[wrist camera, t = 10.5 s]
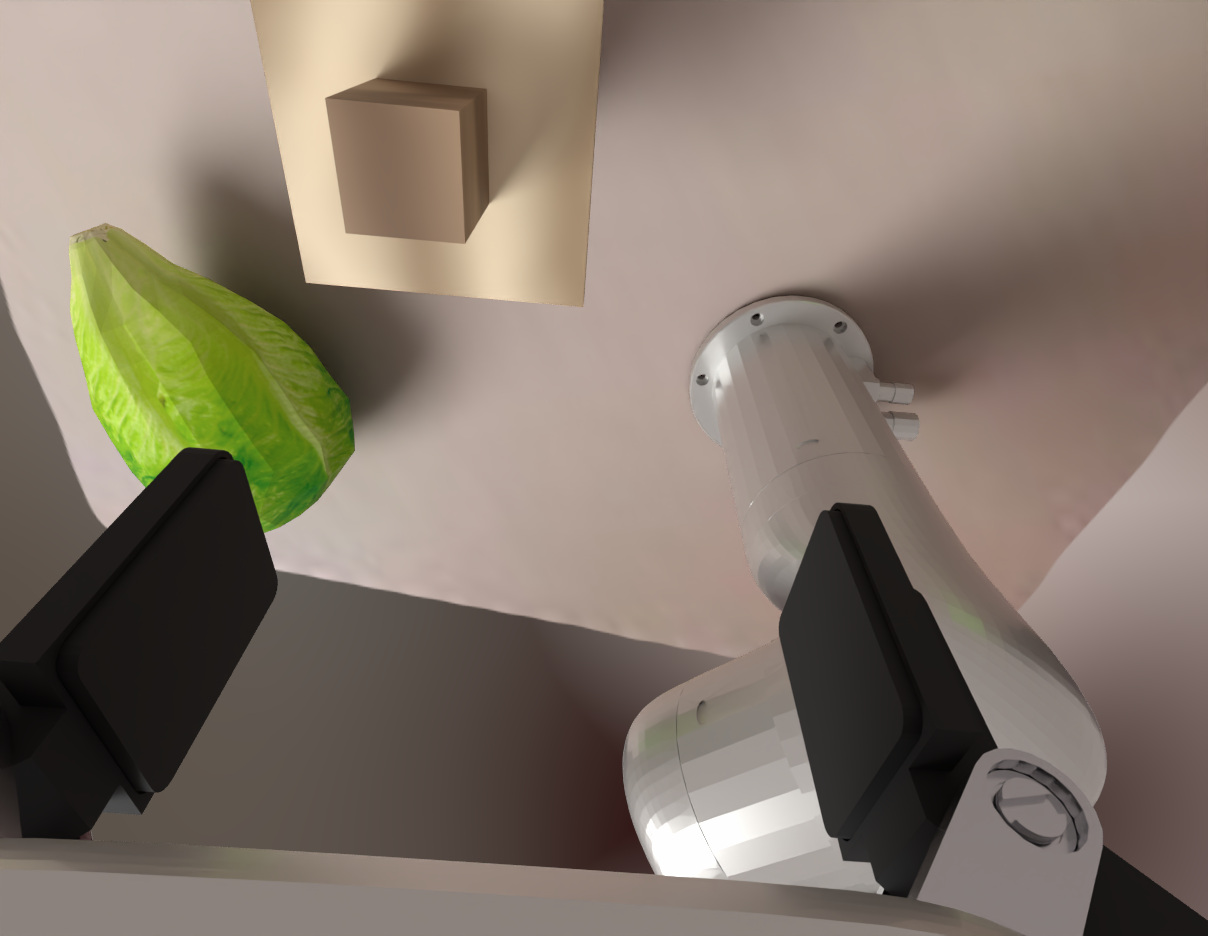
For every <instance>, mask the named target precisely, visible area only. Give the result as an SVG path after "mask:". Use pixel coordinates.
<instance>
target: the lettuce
mask: <svg viewBox="0 0 1208 936" xmlns="http://www.w3.org/2000/svg"><path fill="white" fill-rule="evenodd" d="M69 257H70V266H71V274H72V282H71V298H70V313H71V318H72V324H73V329H74V335H75V339H76V343H77V347H78V350H79V354H80V358H81V362H82V365H83V369H84V373H85V377H86V381H87V386H88V390H89V395H90V399H91V403H92V408H93V410H94V412H95V413H96V415H97V417H98V419H99V420H100V422H101V424H102V425H103V427H104V429H105V430H106V432H107V434H108V436H109V437H110V439H111V441H112V442H113V444H114V445H115V447H116V448H117V450H118V451H119V453H120V455H121V456H122V458H123V459H124V461H125V462H126V464H127V465H128V467H129V468H130V470H131V471H132V473H133V474H134V475H135V476H136V477H137V478H138V479H139V480H140V482H141V483H142V484H143V485H144V486H145V487H147V486H148V485H149V484H150V483H151V482H152V481H153V480H154V479H155V477H156V476H157V475H158V474H159V473H160V472H161V471H162V470H163V469H164V468H165V467H166V466H167V465H168V464H169V463H170V462H171V460H172V459H173V458H174V457H175V456H176V455H177V454H178V453H179V452H180V451H181V450H183V449H184V448H188V447H194V448H206V449H218V450H225V451H228V452H229V453H230V454H231V455H232V457H233V459H234V460H237V461H240V462H241V463H242V464H243V466H244V469H245V472H246V476H247V479H248V482H249V485H250V489H251V492H252V495H253V499H254V502H255V505H256V509H257V512H258V515H259V519H260V522H261V525H262V528H263V532H264V533H265V532H268V531H271V530H273V529H276V528H279V527H281V526H282V525H284V524H286V523H287V522H289V521H291V520H293V519H294V518H296V517H298V516H299V515H301V514H302V513H303V512H304V511H306V510H307V509H308V508H309V507H310V506H312V505H313V504H314V503H315V502H316V501H318V499H319V498H320V497H321V496H322V494H323V493H324V492H325V491H326V489H327V488H328V487H329V486H330V484H331V483H332V482H333V480H334V479H335V477H336V476H337V475H338V473H339V472H340V470H341V469H342V468H343V466H344V465H345V464H346V462H347V461H348V459H349V458H350V457H351V455H352V454H353V453H354V451H355V445H354V429H353V422H352V415H351V408H350V400H349V398H348V397H347V396H346V394H345V393H344V392H343V391H342V389H341V388H340V387H339V386H338V385H337V383H336V382H335V381H334V380H333V378H332V377H331V376H330V375H329V373H328V372H327V370H326V369H325V367H324V366H323V365H322V363H321V362H320V360H319V359H318V357H317V356H316V355H315V353H314V352H313V350H312V349H311V347H310V346H309V345H307V344H306V343H305V342H304V341H303V340H302V339H301V338H300V337H299V336H298V335H297V334H296V333H295V332H294V331H293V330H292V329H291V328H290V327H289V326H288V325H287V324H286V323H285V322H283V321H282V320H280V319H279V318H277V317H275V316H274V315H272V314H270V313H269V312H267V311H266V310H264V309H262V308H261V307H259V306H257V305H256V304H254V303H253V302H251V301H249V300H247V299H245V298H243V297H242V296H240V295H238V294H236V293H234V292H232V291H230V290H228V289H227V288H225V287H223V286H221V285H219V284H217V283H215V282H213V281H211V280H210V279H207V278H205V277H203V276H201V275H198V274H196V273H194V272H191V271H189V270H187V269H184V268H182V267H180V266H177V265H175V264H173V263H171V262H170V261H168V260H167V259H166V258H164V257H163V256H161V255H160V254H158V253H157V252H156V251H154V250H153V249H151V248H150V247H148V246H147V245H146V244H144V243H142V242H141V241H139V240H138V239H136V238H135V237H133V236H131V235H130V234H128V233H127V232H125V231H123V230H122V229H120V228H117V227H115V226H112V225H109V224H107V223H105V224H102V225H99V226H97V227H94V228H91V229H89V230H86V231H83V232H81V233H78V234H75V235H73V236H71V237H70V243H69Z"/></svg>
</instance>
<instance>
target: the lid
mask: <svg viewBox="0 0 1208 936" xmlns="http://www.w3.org/2000/svg"><path fill="white" fill-rule="evenodd" d="M250 2H251V7H252V12H253V17H254V22H255V27H256V32H257V37H258V42H259V47H260V52H261V57H262V63H263V68H264V73H265V78H266V83H267V88H268V93H269V98H270V103H271V108H272V113H273V118H274V123H275V128H276V133H277V138H278V144H279V149H280V154H281V159H282V164H283V169H284V174H285V179H286V184H287V189H288V194H289V199H290V204H291V209H292V214H293V219H294V225H295V230H296V235H297V240H298V245H299V250H300V255H301V260H302V265H303V270H304V275H305V280H306V283H315V284H326V285H337V286H349V287H360V288H372V289H383V290H394V291H406V292H417V293H429V294H440V295H452V296H463V297H474V298H486V299H497V300H509V301H520V302H532V303H543V304H554V305H566V306H577V307H583V303H584V293H585V278H586V263H587V248H588V234H589V219H590V204H591V189H592V174H593V159H594V144H595V129H596V114H597V100H598V85H599V70H600V55H601V40H602V25H603V10H604V0H250Z"/></svg>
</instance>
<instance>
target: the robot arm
mask: <svg viewBox="0 0 1208 936" xmlns="http://www.w3.org/2000/svg"><path fill="white" fill-rule="evenodd" d="M757 313H759V315H758V316H757V317H752V316H753V315H754V314H757ZM837 322H840V323H839V324H837V325H835V324H836V323H837ZM702 374H704V375H703V376H699V375H702ZM689 395H690V402H691V407H692V410H693V413H694V416H695V418H696V420H697V422H698V423H699V425H700V427H701V429H702V430H703V431H704V432H705V433H706V434H707V435H708V436H709V438H710V439H711V440H712V441H714V442H715V443H717V444H718V445H719V446H721V447H722V448H723V451H724V456H725V460H726V465H727V470H728V475H729V479H730V484H731V489H732V493H733V498H734V503H735V508H736V512H737V517H738V522H739V526H740V531H741V536H742V540H743V545H744V550H745V554H746V559H747V562H748V565H749V568H750V571H751V574H752V576H753V578H754V580H755V582H756V584H757V585H758V587H759V588H760V590H761V591H762V592H763V594H764V595H765V596H766V597H767V598H768V600H769V601H770V602H771V603H772V604H773V605H774V606H775V607H777V608H778V609H779V610H780V611H782V614H781V617H780V621H779V638H777V639H774V640H773V641H771V642H770V643H769V644H767V645H765V646H763V647H760V648H758V649H756V650H754V651H752V652H749V653H747V654H745V655H743V656H741V657H738V658H736V659H734V660H732V661H730V662H728V663H725V664H723V665H721V666H719V667H717V668H714V669H712V670H710V671H708V672H706V673H703V674H701V675H699V676H697V677H695V678H692V679H691V680H689V681H687V682H685V683H683V684H681V685H679V686H677V687H675V688H673V689H671V690H669V691H667V692H665V693H664V694H662V695H660V696H659V697H658V698H656V699H654V700H653V701H652V702H651V703H649V704H648V705H647V706H646V707H645V708H644V709H643V710H642V711H641V712H640V713H639V715H638V716H637V717H636V719H635V720H634V722H633V724H632V726H631V728H630V730H629V732H628V735H627V738H626V742H625V747H624V754H623V779H624V787H625V793H626V798H627V802H628V807H629V811H630V814H631V817H632V821H633V824H634V827H635V830H636V832H637V835H638V837H639V840H640V842H641V845H642V847H643V849H644V852H645V854H646V856H647V858H648V860H649V862H650V865H651V867H652V869H653V871H654V873H655V875H651V874H637V873H636V874H635V873H622V872H608V871H607V872H606V871H593V870H579V869H563V868H549V867H534V866H518V865H503V864H488V863H472V862H457V861H441V860H425V859H409V858H394V857H378V856H362V855H346V854H329V853H314V852H297V851H296V852H295V851H280V850H264V849H247V848H230V847H228V848H227V847H213V846H196V845H180V844H163V843H141V842H117V841H93V840H92V834H91V829H92V827H93V826H94V824H95V823H96V821H97V819H98V818H99V816H100V815H101V813H102V812H107V813H123V814H138V815H141V814H142V813H143V812H144V810H145V808H146V806H147V804H148V803H149V801H150V800H151V798H152V796H153V794H154V793H155V792H161V791H163V790H164V789H165V788H166V787H167V786H168V785H169V783H170V782H171V780H172V779H173V777H174V775H175V773H176V772H177V770H178V768H179V766H180V765H181V763H182V761H183V759H184V758H185V756H186V754H187V752H188V750H189V749H190V747H191V745H192V743H193V741H194V740H195V738H196V736H197V734H198V733H199V731H200V729H201V727H202V726H203V724H204V722H205V720H206V719H207V717H208V715H209V713H210V711H211V710H212V708H213V706H214V704H215V703H216V701H217V699H218V697H219V696H220V694H221V692H222V690H223V688H224V687H225V685H226V683H227V681H228V679H229V678H230V676H231V674H232V672H233V670H234V669H235V667H236V665H237V663H238V662H239V660H240V658H241V657H242V654H243V653H244V651H245V649H246V648H247V646H248V644H249V642H250V641H251V639H252V637H253V635H254V633H255V632H256V630H257V628H258V626H259V625H260V623H261V621H262V619H263V618H264V615H265V614H266V612H267V610H268V608H269V607H270V605H271V603H272V602H273V600H274V597H275V595H276V591H277V585H278V582H277V581H278V580H277V575H276V571H275V568H274V565H273V562H272V558H271V555H270V552H269V548H268V545H267V542H266V538H265V535H264V532H263V528H262V525H261V522H260V519H259V515H258V512H257V509H256V505H255V502H254V499H253V495H252V492H251V489H250V485H249V482H248V479H247V476H246V472H245V469H244V466H243V464H242V463H241V462H240V461H237V460H234V459H233V457H232V455H231V454H230V453H229V452H228V451H225V450H218V449H206V448H194V447H188V448H184V449H183V450H181V451H180V452H179V453H178V454H177V455H176V456H175V457H174V458H173V459H172V460H171V462H170V463H169V464H168V465H167V466H166V467H165V468H164V469H163V470H162V471H161V472H160V473H159V474H158V475H157V476H156V477H155V479H154V480H153V481H152V482H151V483H150V484H149V485H148V486H147V487H146V488H145V489H144V490H143V491H142V492H141V493H140V495H139V496H138V497H137V498H136V499H135V500H134V501H133V502H132V503H131V504H130V505H129V506H128V507H127V508H126V509H125V510H124V512H123V513H122V514H121V515H120V516H119V517H118V518H117V519H116V520H115V521H114V522H113V523H112V524H111V525H110V526H109V527H108V529H107V530H106V531H105V532H104V533H103V534H102V535H101V536H100V537H99V538H98V539H97V540H96V542H94V543H93V545H92V546H91V547H90V548H89V549H88V550H87V551H86V552H85V553H84V554H83V555H82V556H81V557H80V558H79V559H78V561H77V562H76V563H75V564H74V565H73V566H72V567H71V568H70V569H69V570H68V571H67V572H66V573H65V574H64V575H63V576H62V578H61V579H60V580H59V581H58V582H57V583H56V584H55V585H54V586H53V587H52V588H51V589H50V590H49V591H48V592H47V594H46V595H45V596H44V597H43V598H42V599H41V600H40V601H39V602H38V603H37V604H36V605H35V606H34V607H33V609H31V611H30V612H29V613H28V614H27V615H26V616H25V617H24V618H23V619H22V620H21V621H20V622H19V623H18V624H17V625H16V627H15V628H14V629H13V630H12V631H11V632H10V633H9V634H8V635H7V636H6V637H5V638H4V639H3V640H2V641H1V642H0V936H1208V920H1206V919H1205V918H1203V917H1202V916H1201V915H1199V914H1198V913H1197V912H1195V911H1194V910H1192V909H1191V908H1190V907H1188V906H1187V905H1186V904H1184V903H1183V902H1181V901H1180V900H1179V899H1177V898H1176V897H1174V896H1173V895H1172V894H1170V893H1169V892H1168V891H1166V890H1165V889H1163V888H1162V887H1161V886H1159V885H1158V884H1156V883H1155V882H1154V881H1152V880H1151V879H1149V878H1148V877H1147V876H1145V875H1144V874H1143V873H1141V872H1140V871H1139V870H1137V869H1136V868H1134V867H1133V866H1132V865H1130V864H1129V863H1127V862H1126V861H1125V860H1123V859H1122V858H1120V857H1119V856H1118V855H1116V854H1115V853H1113V852H1112V851H1111V850H1109V849H1108V848H1107V847H1105V846H1104V845H1103V830H1102V828H1101V825H1100V822H1099V820H1098V816H1097V813H1096V812H1095V810H1094V808H1093V806H1094V804H1095V803H1096V801H1097V799H1098V798H1099V795H1100V793H1101V790H1102V788H1103V785H1104V781H1105V777H1106V772H1107V756H1106V751H1105V750H1106V749H1105V744H1104V741H1103V737H1102V733H1101V730H1100V727H1099V725H1098V722H1097V720H1096V717H1095V715H1094V713H1093V711H1092V710H1091V708H1090V706H1089V704H1088V703H1087V701H1086V699H1085V697H1084V696H1083V694H1082V692H1081V691H1080V689H1079V687H1078V685H1077V684H1076V682H1075V681H1074V679H1073V678H1072V677H1071V675H1070V674H1069V673H1068V671H1067V670H1066V669H1065V668H1064V666H1063V665H1062V664H1061V662H1060V661H1059V660H1058V659H1057V657H1056V656H1055V655H1054V653H1053V652H1052V651H1051V649H1050V648H1049V647H1048V646H1047V645H1046V643H1045V642H1044V641H1043V640H1042V639H1041V638H1040V637H1039V636H1038V635H1037V633H1036V632H1035V631H1034V630H1033V629H1032V628H1031V627H1030V626H1029V625H1028V623H1027V622H1026V621H1025V620H1024V619H1023V618H1022V616H1021V615H1020V614H1019V613H1018V612H1017V611H1016V610H1015V609H1014V607H1013V606H1012V605H1011V604H1010V603H1009V602H1008V601H1007V600H1006V598H1005V597H1004V596H1003V595H1002V594H1001V593H1000V592H999V590H998V589H997V588H996V587H995V586H994V585H993V584H992V582H991V581H990V580H989V579H988V577H987V576H986V575H985V574H984V572H983V571H982V570H981V568H980V567H979V566H978V565H977V563H976V562H975V561H974V560H973V558H972V557H971V556H970V555H969V553H968V552H967V550H966V549H965V547H964V546H963V544H962V543H961V541H960V540H959V538H958V537H957V535H956V534H955V532H954V531H953V529H952V528H951V526H950V525H949V523H948V522H947V520H946V519H945V517H944V516H943V514H942V513H941V511H940V510H939V508H938V506H937V505H936V503H935V501H934V500H933V498H932V496H931V495H930V493H929V491H928V490H927V488H926V486H925V485H924V483H923V482H922V480H921V478H920V477H919V475H918V473H917V472H916V470H915V468H914V467H913V465H912V463H911V462H910V460H909V458H908V457H907V455H906V453H905V452H904V450H903V448H902V446H901V445H900V443H899V441H898V440H907V441H912V440H914V439H915V438H916V436H917V434H918V431H919V427H920V426H919V418H918V415H916V414H915V413H905V412H894V411H889V412H881V411H880V410H879V408H878V406H877V405H876V402H877V401H884V402H889V403H895V404H906V405H908V404H910V403H911V401H912V400H913V396H914V388H913V385H911V384H904V383H893V382H892V383H882V382H880V381H879V379H878V378H875V376H874V360H873V356H872V352H871V348H870V345H869V343H868V341H867V339H866V337H865V335H864V333H863V332H862V330H861V329H860V328H859V326H858V325H857V323H856V322H855V321H854V320H853V319H852V318H851V317H850V316H849V315H847V314H846V313H845V312H844V311H843V310H841V309H840V308H838V307H836V306H834V305H832V304H830V303H829V302H826V301H823V300H819V299H816V298H812V297H805V296H794V295H791V296H780V297H772V298H769V299H765V300H761V301H757V302H754V303H752V304H750V305H748V306H746V307H743V308H741V309H739V310H737V311H736V312H734V313H733V314H731V315H730V316H729V317H727V318H726V319H724V320H723V321H722V322H721V323H720V324H719V325H718V326H716V327H715V328H714V329H713V330H712V331H711V332H710V333H709V335H708V336H707V338H706V339H705V340H704V342H703V343H702V344H701V346H700V347H699V350H698V352H697V354H696V356H695V358H694V360H693V363H692V367H691V371H690V375H689Z"/></svg>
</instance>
